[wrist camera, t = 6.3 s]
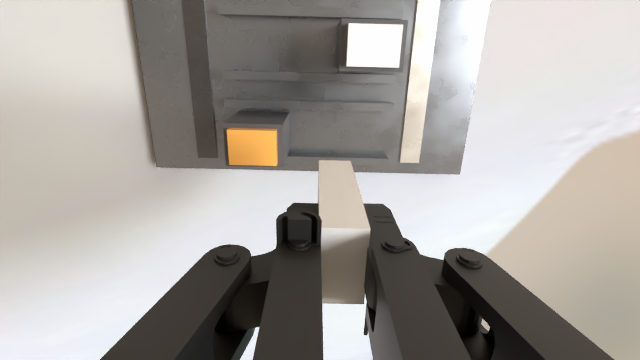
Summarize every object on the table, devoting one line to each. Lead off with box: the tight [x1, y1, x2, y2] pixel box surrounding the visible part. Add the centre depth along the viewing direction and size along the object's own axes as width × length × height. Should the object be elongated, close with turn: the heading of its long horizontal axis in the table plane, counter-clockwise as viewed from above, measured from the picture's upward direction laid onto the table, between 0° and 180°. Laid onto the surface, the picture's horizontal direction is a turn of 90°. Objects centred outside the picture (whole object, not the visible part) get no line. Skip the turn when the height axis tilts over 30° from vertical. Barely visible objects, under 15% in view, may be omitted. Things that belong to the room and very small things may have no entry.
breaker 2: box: [336, 18, 408, 72], centre depth 23 cm, size 4×3×6 cm
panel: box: [131, 0, 491, 174], centre depth 26 cm, size 26×20×2 cm
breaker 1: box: [223, 111, 290, 167], centre depth 25 cm, size 4×3×6 cm
